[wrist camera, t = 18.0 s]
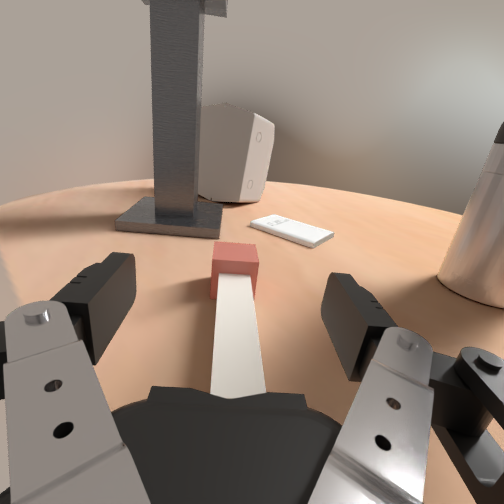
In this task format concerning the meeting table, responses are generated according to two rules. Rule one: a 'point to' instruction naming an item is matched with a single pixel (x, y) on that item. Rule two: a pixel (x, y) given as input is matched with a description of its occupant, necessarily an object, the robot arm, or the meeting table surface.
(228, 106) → the electrical switch box
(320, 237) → the external hard drive
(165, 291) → the meeting table surface
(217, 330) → the white bar pink end
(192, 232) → the headphone stand
